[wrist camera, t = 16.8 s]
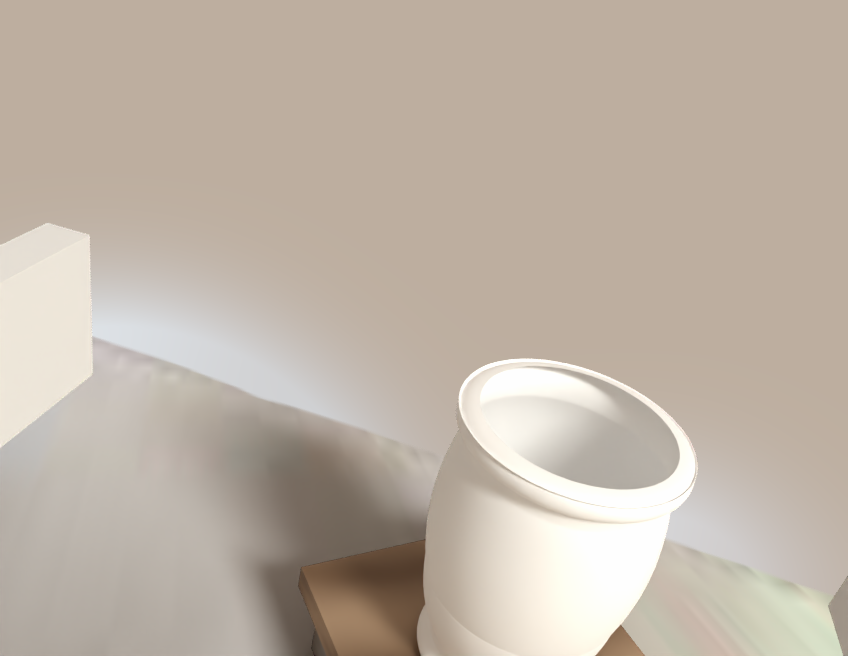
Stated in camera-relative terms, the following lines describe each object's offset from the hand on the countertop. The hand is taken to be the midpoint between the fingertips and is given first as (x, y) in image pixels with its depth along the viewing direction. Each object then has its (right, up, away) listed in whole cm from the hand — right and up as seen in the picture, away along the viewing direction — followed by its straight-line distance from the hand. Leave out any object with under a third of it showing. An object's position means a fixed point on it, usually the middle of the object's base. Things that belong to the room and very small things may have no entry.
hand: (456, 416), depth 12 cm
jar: (+3, -16, +28) cm, 32 cm away
